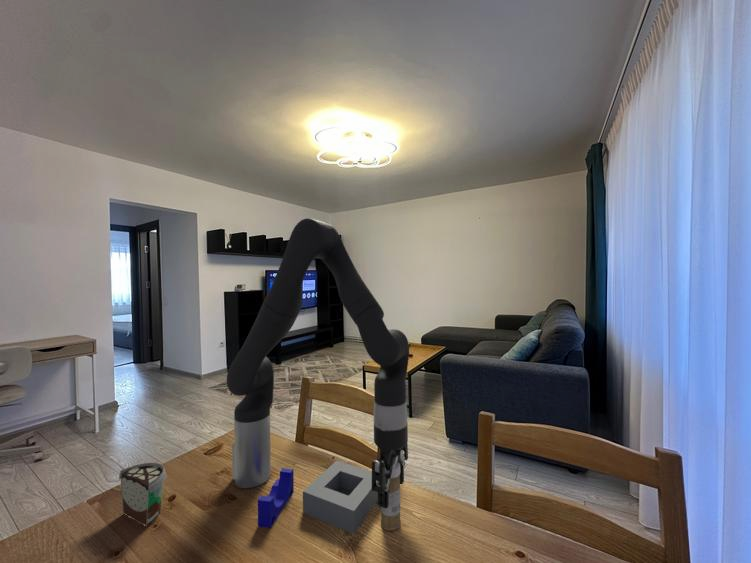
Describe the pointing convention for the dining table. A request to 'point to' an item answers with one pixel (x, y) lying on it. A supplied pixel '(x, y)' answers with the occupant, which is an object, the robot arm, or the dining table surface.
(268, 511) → the cable clip
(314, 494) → the well block
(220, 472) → the dining table surface
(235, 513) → the dining table surface
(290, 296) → the robot arm
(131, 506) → the food container
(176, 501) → the dining table surface
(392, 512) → the sprinkles bottle
